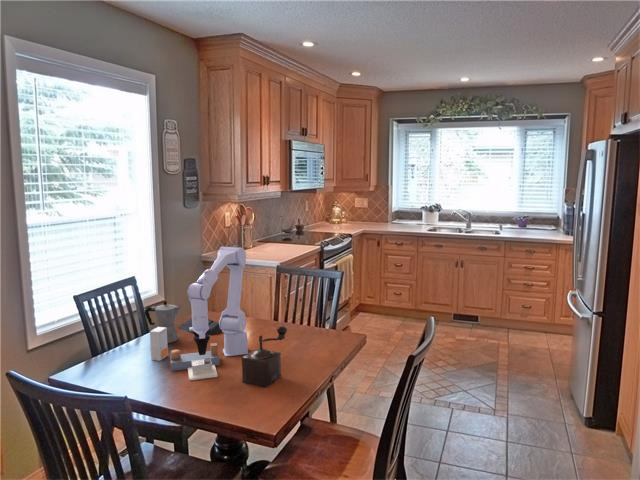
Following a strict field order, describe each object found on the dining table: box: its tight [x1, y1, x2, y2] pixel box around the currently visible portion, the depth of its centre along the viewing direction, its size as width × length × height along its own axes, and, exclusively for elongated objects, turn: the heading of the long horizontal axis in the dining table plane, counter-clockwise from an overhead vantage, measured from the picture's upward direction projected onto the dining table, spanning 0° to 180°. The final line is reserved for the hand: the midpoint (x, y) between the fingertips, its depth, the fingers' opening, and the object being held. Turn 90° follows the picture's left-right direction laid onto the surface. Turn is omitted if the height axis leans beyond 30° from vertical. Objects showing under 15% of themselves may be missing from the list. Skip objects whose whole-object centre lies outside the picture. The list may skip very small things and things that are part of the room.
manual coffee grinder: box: [241, 325, 288, 388], centre depth 176 cm, size 16×11×18 cm
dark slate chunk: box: [177, 317, 223, 336], centre depth 231 cm, size 15×22×5 cm
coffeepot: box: [143, 300, 182, 344], centre depth 215 cm, size 15×9×18 cm, turn 103°
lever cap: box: [191, 358, 212, 375], centre depth 180 cm, size 7×5×4 cm
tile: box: [187, 364, 218, 381], centre depth 181 cm, size 10×10×1 cm
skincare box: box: [149, 326, 169, 362], centre depth 195 cm, size 6×4×12 cm
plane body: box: [169, 342, 221, 372], centre depth 189 cm, size 18×8×7 cm, turn 108°
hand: (201, 350), depth 179 cm, fingers open, 7 cm apart
